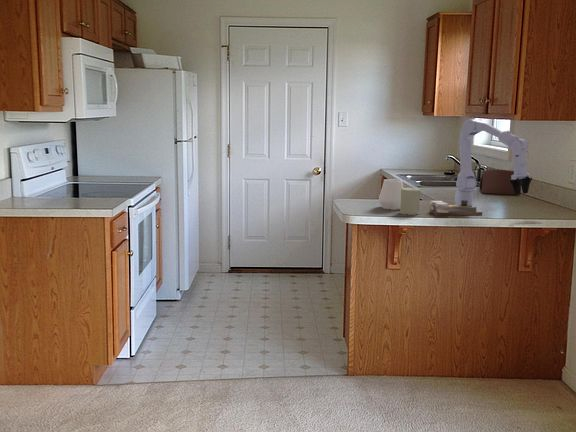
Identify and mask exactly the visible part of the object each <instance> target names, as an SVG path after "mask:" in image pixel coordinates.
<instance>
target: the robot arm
mask: <svg viewBox="0 0 576 432" xmlns="http://www.w3.org/2000/svg"><path fill="white" fill-rule="evenodd" d="M461 126H462V127H461V130H460V133H459V142H458V143H459V163H460V164H459V165H460V166H459V167H460V170H459V173H458V174H457V179H456V183H455V185H456V189H457V191H456V192H455V194H454V205H461V200H467V201H468V204H467V205H472V206H473V201H474V199H473V198H474V188H476V187H477V179H476V176H475V173H474V172H473V167H472V163H473V162H472V138H474V137H475V135H476V134H480V133H481V132H485V133H487V134H490V136H494V137H496V138H497V139H498V141H499V143H502V144H504V145H506V146H507V147H509V148H510V150H511V152H512V158H513V159H512V160H513V171H514V175H511V179H512V180H510V183H511V184H512V186H513V189H514V192H515V196H520V195H521V193H523V194H528V193H529V189H530V184H531V183H532V181H533V177H531V173H529V172H528V164H527V162H528V160H527V159H528V158H527V149H528V147H529V143H528V140H526V138H523V137H522V138H520V136H519V135H515V134H513V133H511V131H510V130H503V131H501V130H500V129H498V128H497V127H495V126H493V125H492V124H490V123H489V122H487V121H486V120H483V119H480V118H479V119H467V120H465V121H464V122H463V123H462V124H461Z"/></svg>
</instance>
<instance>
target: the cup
mask: <svg viewBox="0 0 576 432" xmlns="http://www.w3.org/2000/svg"><path fill="white" fill-rule="evenodd" d="M401 188H404V184H403V180H402V179H397V178H386V179H385V178H384V179H383V183H382V187H381V189H380V193H379V196H378V202H379V204H380V206H381V208H382V209H385V210H389V209H391V210H393V211H394V210H395V211H396V210H397V209H398V210H400V203H401Z"/></svg>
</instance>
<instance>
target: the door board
mask: <svg viewBox="0 0 576 432" xmlns="http://www.w3.org/2000/svg"><path fill="white" fill-rule="evenodd" d="M429 204H430V205H429V212H430V213H432V214H433V215H435V216H437V217H441V216H442V217H446V216H447V217H448V216H449V217H451V216H452V217H454V216H456V217H458V216H459V217H460V216H462V215H468V216H483V212H482V211H481V210H478V209H477V206H473V204H472V205H467V206H468V207H449V205H450V204H449V203H448V202H445V201H443V200H430V203H429Z"/></svg>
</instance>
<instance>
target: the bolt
mask: <svg viewBox="0 0 576 432" xmlns="http://www.w3.org/2000/svg"><path fill="white" fill-rule="evenodd" d="M467 204H468V201H467V200H461V205H455V204H454V205H453V204H452V205H451V204H449V207H468V206H467Z"/></svg>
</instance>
